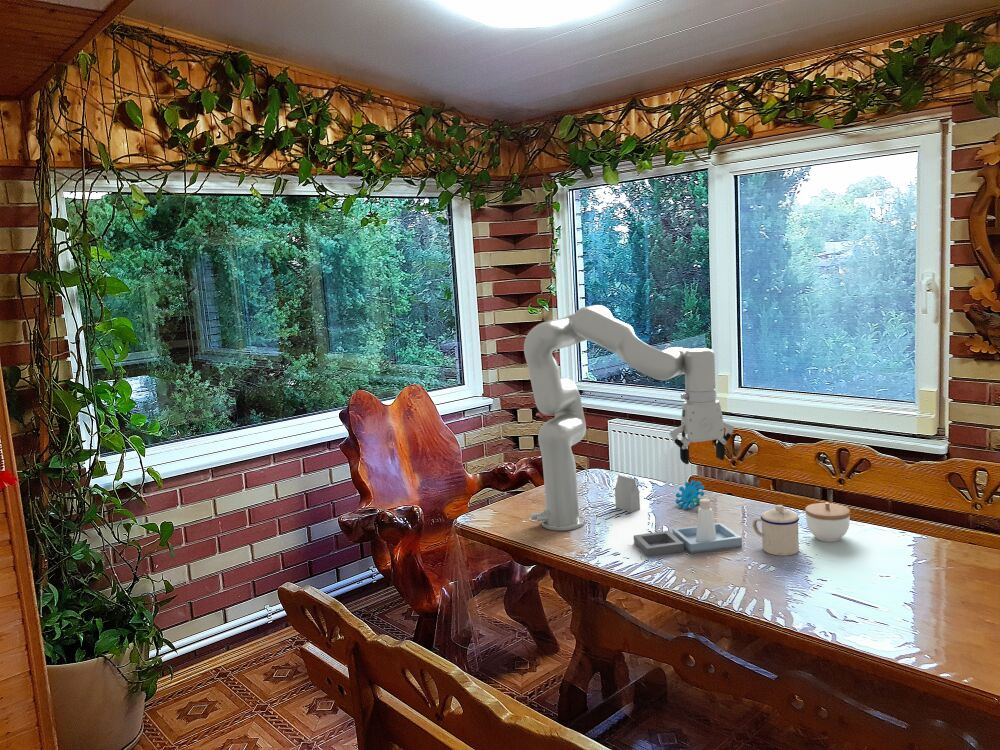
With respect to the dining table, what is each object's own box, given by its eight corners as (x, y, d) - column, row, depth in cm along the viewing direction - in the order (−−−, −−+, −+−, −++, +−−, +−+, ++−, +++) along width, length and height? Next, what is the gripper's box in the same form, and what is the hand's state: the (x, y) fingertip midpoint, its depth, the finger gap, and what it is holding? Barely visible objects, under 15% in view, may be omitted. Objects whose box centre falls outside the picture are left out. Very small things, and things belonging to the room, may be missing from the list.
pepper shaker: (691, 540, 201) (690, 500, 200) (703, 534, 205) (701, 495, 203) (709, 545, 197) (708, 504, 196) (721, 539, 201) (719, 498, 199)
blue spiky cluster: (668, 498, 234) (688, 474, 234) (679, 509, 236) (699, 484, 236) (688, 513, 224) (710, 487, 224) (700, 524, 226) (721, 498, 226)
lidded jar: (852, 546, 191) (852, 510, 190) (806, 544, 195) (806, 509, 193) (848, 531, 201) (847, 497, 200) (804, 529, 205) (804, 496, 203)
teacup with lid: (806, 548, 192) (805, 504, 190) (788, 559, 186) (787, 514, 184) (762, 538, 201) (761, 495, 199) (744, 548, 195) (743, 504, 193)
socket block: (647, 556, 194) (646, 548, 194) (634, 543, 204) (633, 535, 204) (684, 551, 196) (683, 543, 195) (669, 538, 206) (668, 530, 205)
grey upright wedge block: (631, 512, 229) (629, 480, 227) (615, 507, 234) (614, 476, 233) (640, 509, 231) (638, 477, 229) (624, 504, 236) (622, 473, 235)
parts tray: (691, 553, 194) (690, 544, 194) (672, 537, 206) (672, 529, 205) (742, 546, 196) (741, 537, 196) (721, 531, 208) (720, 522, 208)
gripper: (674, 402, 190) (677, 468, 193) (738, 395, 193) (740, 460, 196) (663, 397, 198) (665, 461, 200) (725, 391, 200) (727, 453, 203)
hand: (702, 460), depth 198 cm, fingers open, 9 cm apart
